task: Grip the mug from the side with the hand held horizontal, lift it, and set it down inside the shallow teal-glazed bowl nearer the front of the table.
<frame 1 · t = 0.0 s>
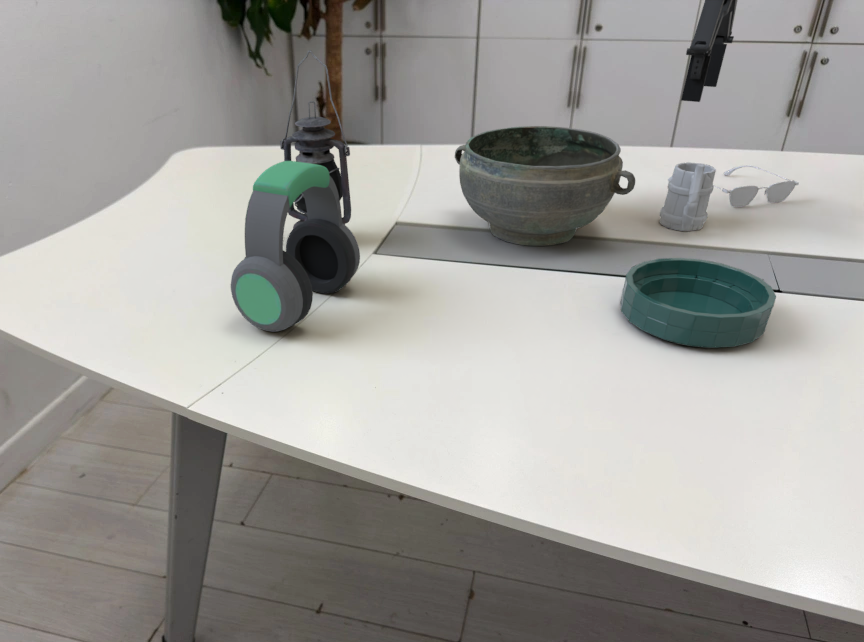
hand: (699, 93, 111), 21 cm above the table, tool pointing down, fingers open, 13 cm apart
lantern: (320, 243, 116), on the table
eyeglasses: (725, 191, 133), on the table
dish: (688, 319, 90), on the table
bowl: (530, 231, 118), on the table
headphones: (301, 308, 96), on the table
mug: (681, 229, 117), on the table
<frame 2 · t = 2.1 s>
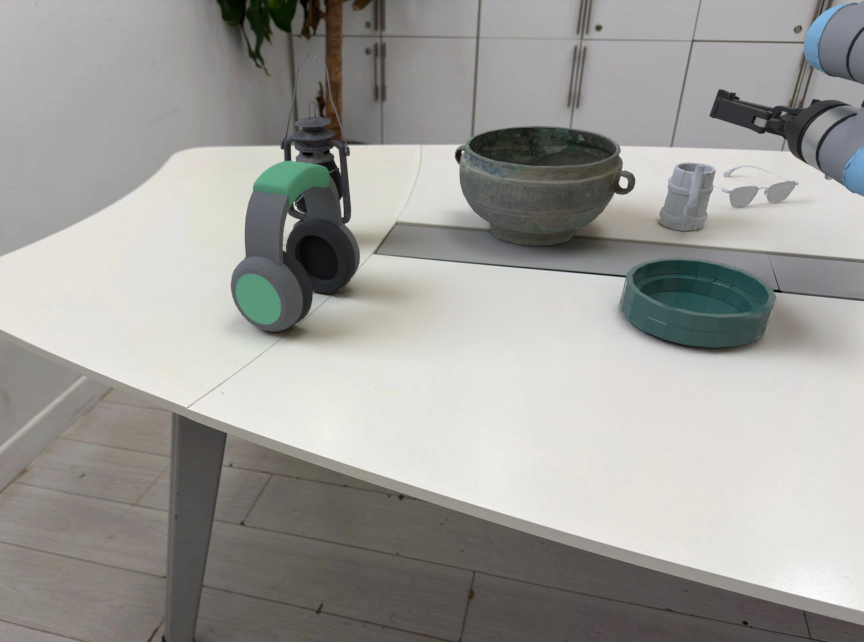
hand: (764, 103, 100), 21 cm above the table, tool horizontal, fingers open, 13 cm apart
nothing on the table moved.
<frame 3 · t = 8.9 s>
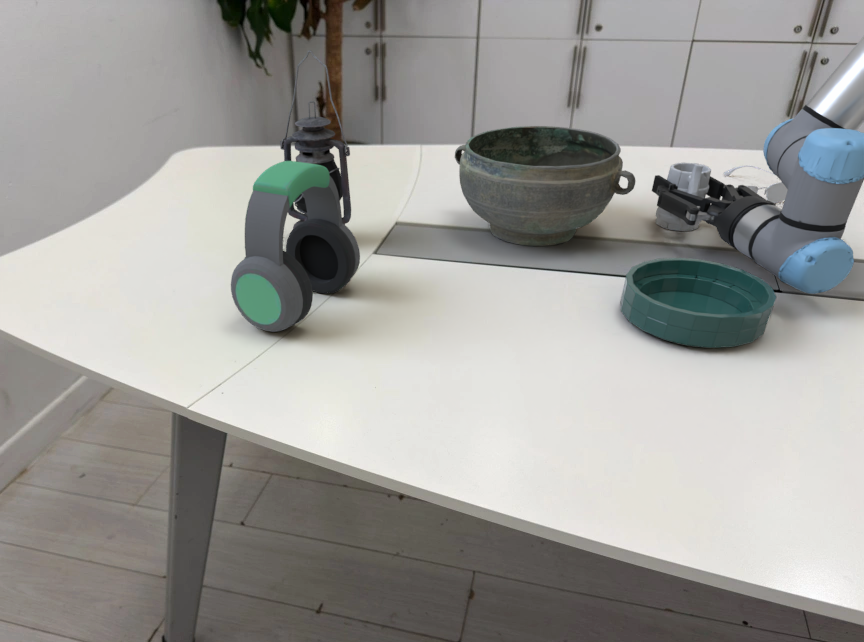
hand: (677, 181, 117), 7 cm above the table, tool horizontal, fingers closed on mug, 7 cm apart
mug: (678, 229, 117), on the table, touching gripper
everything else where it was.
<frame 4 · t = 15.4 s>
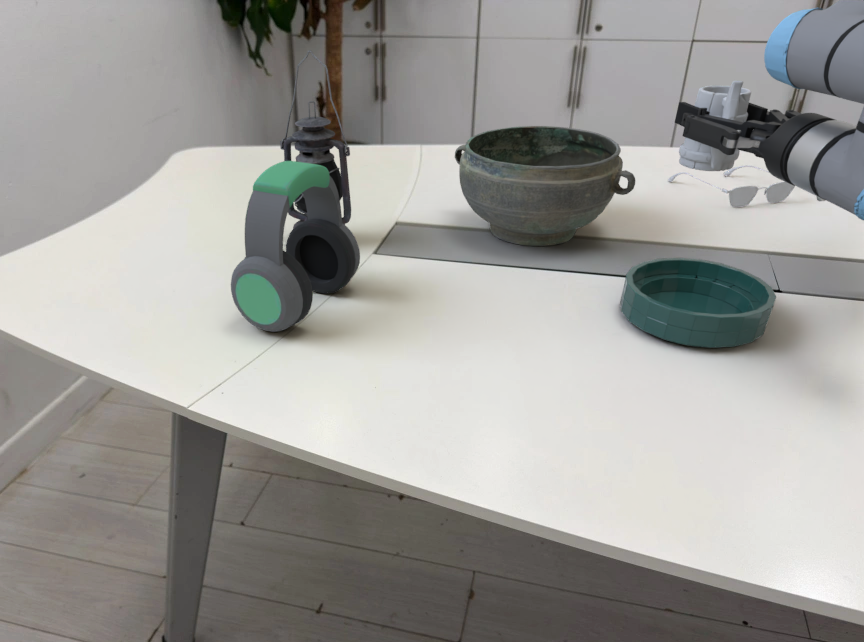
hand: (706, 110, 94), 22 cm above the table, tool horizontal, fingers closed on mug, 7 cm apart
mug: (707, 169, 94), point 15 cm above the table, touching gripper
everything else where it was.
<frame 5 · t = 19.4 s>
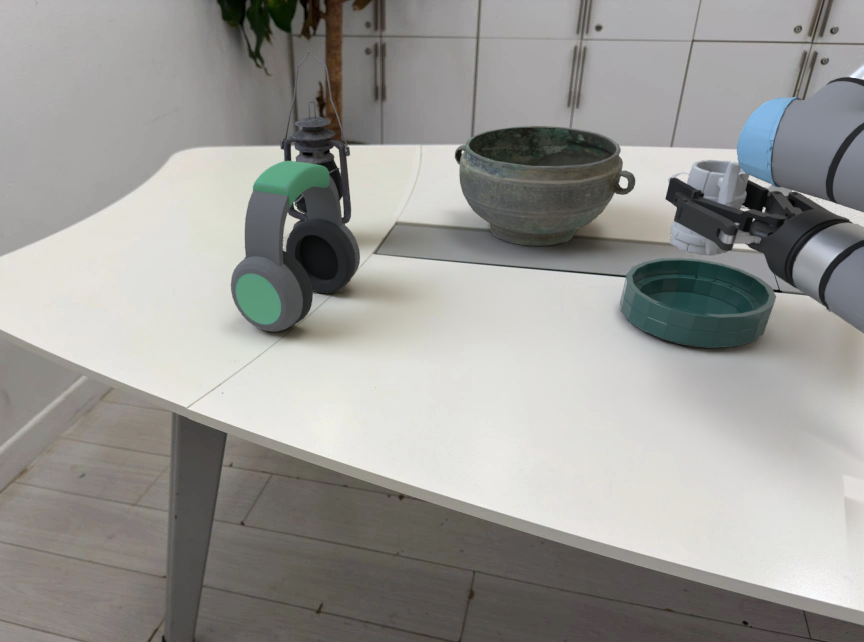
hand: (701, 186, 85), 16 cm above the table, tool horizontal, fingers closed on mug, 7 cm apart
mug: (701, 252, 85), point 10 cm above the table, touching gripper
everything else where it was.
when the fingers open (7 cm above the table, at t = 22.3 s): mug stays where it is, resting on dish.
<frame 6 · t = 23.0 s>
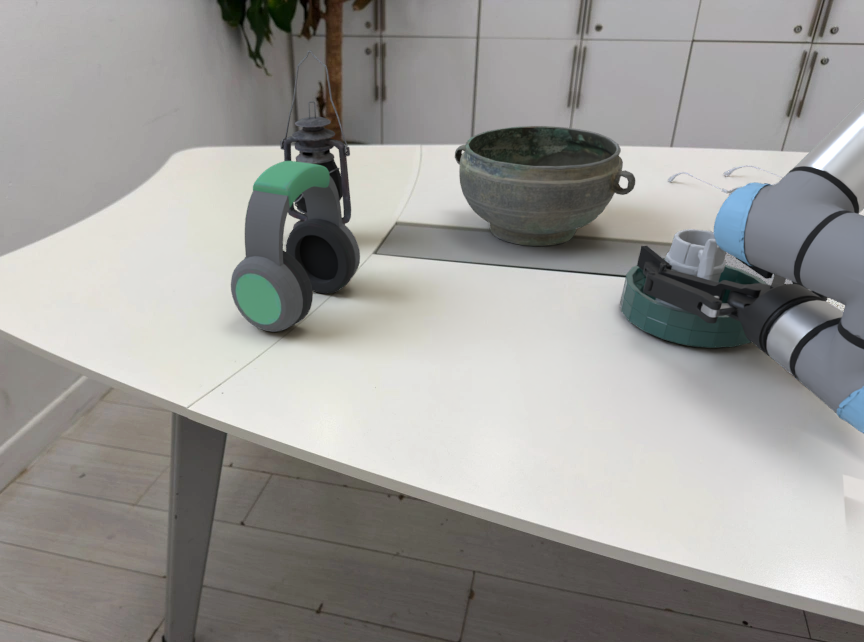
hand: (691, 251, 88), 8 cm above the table, tool horizontal, fingers open, 13 cm apart
mug: (684, 315, 90), point 1 cm above the table, touching dish
everything else where it was.
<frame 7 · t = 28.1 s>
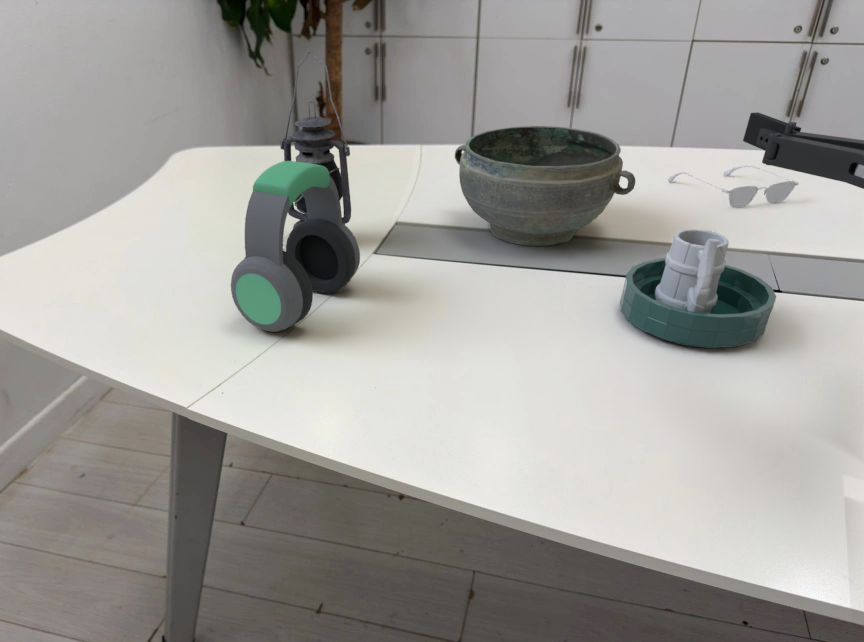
hand: (814, 122, 68), 27 cm above the table, tool horizontal, fingers open, 13 cm apart
nothing on the table moved.
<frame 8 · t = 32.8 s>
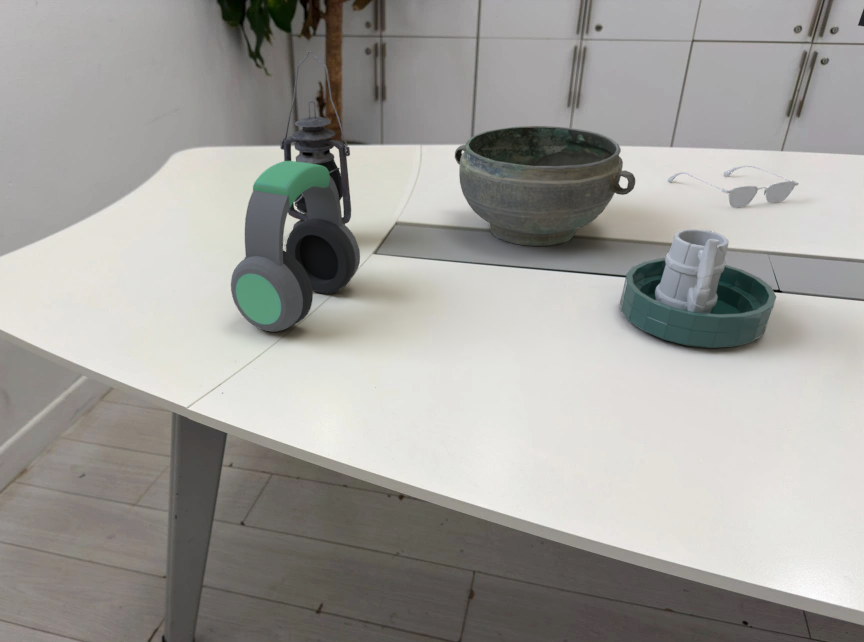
nothing on the table moved.
at the end: mug inside the target area in the dish (0.7 cm from its centre), point 0.6 cm above the dish's base; mug tilted 0°; the gripper is holding nothing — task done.
